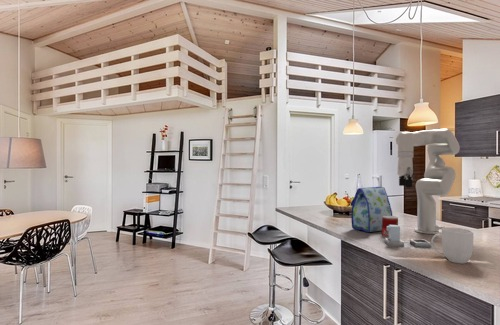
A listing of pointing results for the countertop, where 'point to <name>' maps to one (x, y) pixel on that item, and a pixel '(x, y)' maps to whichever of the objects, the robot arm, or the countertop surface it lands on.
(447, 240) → the mug
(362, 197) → the lunch bag
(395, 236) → the plug
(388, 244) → the panel
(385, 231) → the canned food
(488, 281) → the countertop surface
